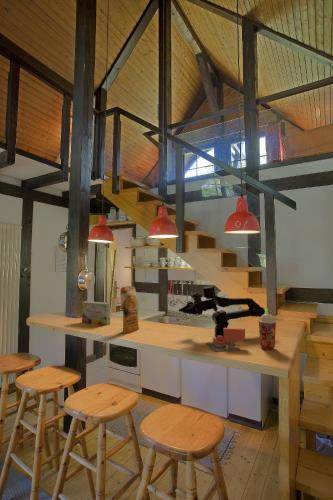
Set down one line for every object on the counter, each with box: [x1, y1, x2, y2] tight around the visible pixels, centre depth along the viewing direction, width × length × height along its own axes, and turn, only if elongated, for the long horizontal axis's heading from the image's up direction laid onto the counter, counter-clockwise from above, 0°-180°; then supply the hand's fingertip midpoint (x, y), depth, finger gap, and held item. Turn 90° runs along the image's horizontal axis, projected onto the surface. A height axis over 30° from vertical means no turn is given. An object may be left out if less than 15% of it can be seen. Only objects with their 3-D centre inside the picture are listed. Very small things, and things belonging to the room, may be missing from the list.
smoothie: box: [258, 308, 277, 351], centre depth 139 cm, size 8×8×20 cm
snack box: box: [81, 300, 111, 326], centre depth 196 cm, size 21×6×15 cm, turn 67°
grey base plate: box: [205, 341, 241, 352], centre depth 141 cm, size 13×14×3 cm
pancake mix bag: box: [120, 285, 140, 334], centre depth 175 cm, size 7×19×28 cm, turn 152°
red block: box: [212, 327, 246, 344], centre depth 140 cm, size 16×7×7 cm, turn 83°
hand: (180, 311), depth 158 cm, fingers open, 9 cm apart
